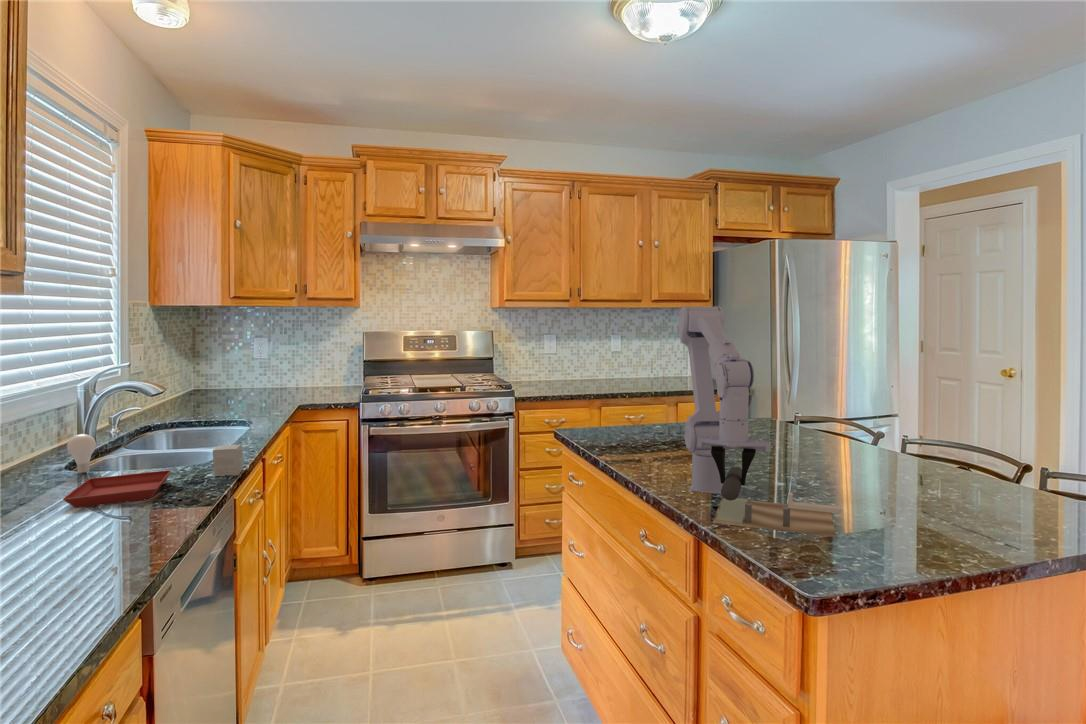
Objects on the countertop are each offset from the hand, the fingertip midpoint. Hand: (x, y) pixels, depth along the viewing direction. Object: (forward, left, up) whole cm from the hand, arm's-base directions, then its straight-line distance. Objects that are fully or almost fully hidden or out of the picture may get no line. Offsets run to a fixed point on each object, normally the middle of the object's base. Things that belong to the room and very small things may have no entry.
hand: (733, 483), depth 125 cm
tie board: (0, +8, -6) cm, 10 cm away
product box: (+13, -130, -7) cm, 131 cm away
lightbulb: (+28, -169, -7) cm, 171 cm away
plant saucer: (+37, -138, -7) cm, 143 cm away
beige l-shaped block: (+6, +15, -2) cm, 17 cm away
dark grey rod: (0, 0, -2) cm, 2 cm away
